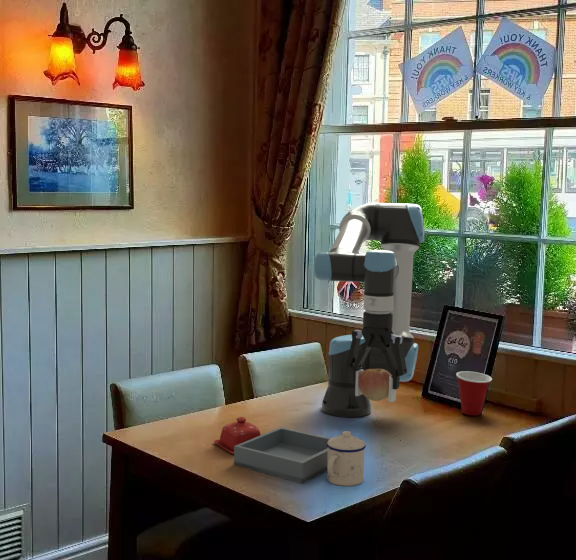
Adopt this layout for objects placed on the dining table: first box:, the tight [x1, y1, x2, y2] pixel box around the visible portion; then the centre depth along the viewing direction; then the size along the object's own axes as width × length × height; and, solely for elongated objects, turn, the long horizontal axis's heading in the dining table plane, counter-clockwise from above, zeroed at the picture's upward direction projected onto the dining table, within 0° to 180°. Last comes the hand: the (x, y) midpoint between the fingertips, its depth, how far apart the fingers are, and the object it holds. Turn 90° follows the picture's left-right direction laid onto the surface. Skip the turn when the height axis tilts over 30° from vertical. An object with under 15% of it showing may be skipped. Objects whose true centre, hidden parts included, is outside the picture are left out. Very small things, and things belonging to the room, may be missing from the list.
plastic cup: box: [455, 370, 493, 416], centre depth 251 cm, size 11×11×12 cm
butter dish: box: [213, 416, 262, 455], centre depth 214 cm, size 12×12×8 cm
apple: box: [359, 369, 391, 402], centre depth 209 cm, size 9×9×8 cm
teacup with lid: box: [326, 430, 367, 487], centre depth 190 cm, size 12×9×12 cm
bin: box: [233, 426, 332, 485], centre depth 203 cm, size 20×20×5 cm
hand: (375, 397), depth 210 cm, fingers closed on apple, 9 cm apart
